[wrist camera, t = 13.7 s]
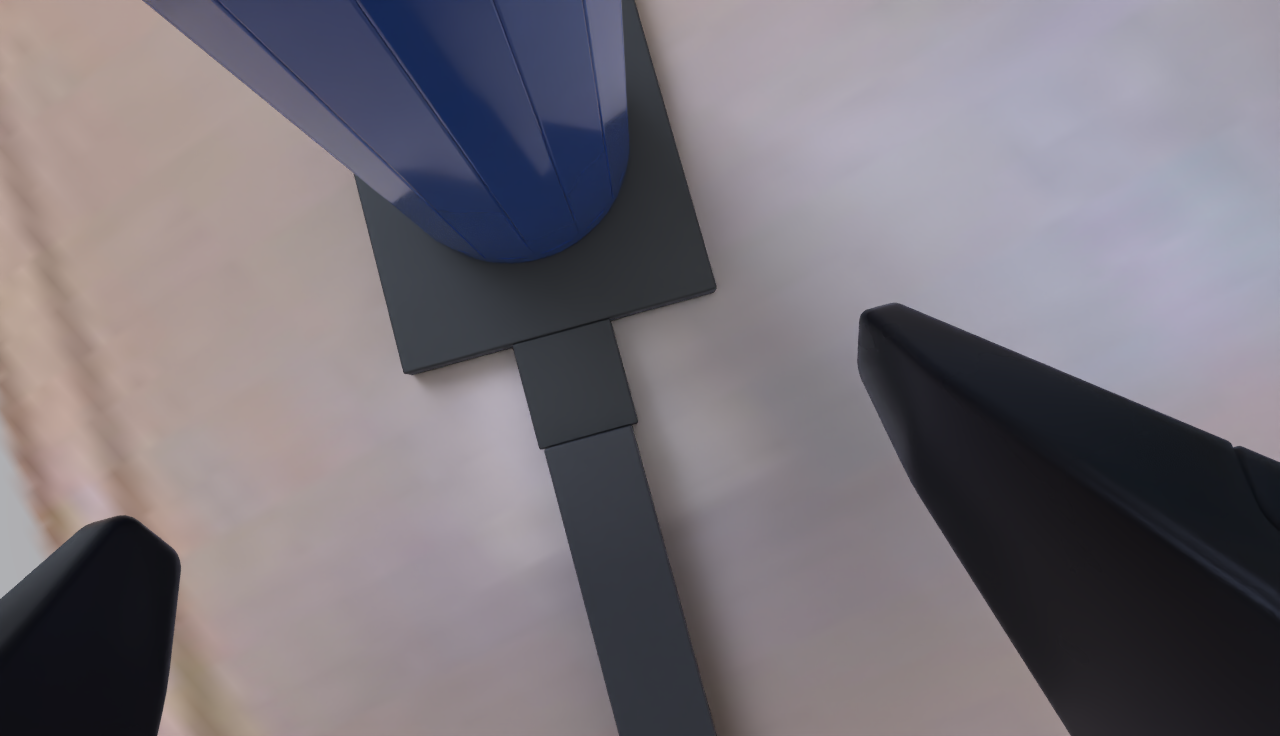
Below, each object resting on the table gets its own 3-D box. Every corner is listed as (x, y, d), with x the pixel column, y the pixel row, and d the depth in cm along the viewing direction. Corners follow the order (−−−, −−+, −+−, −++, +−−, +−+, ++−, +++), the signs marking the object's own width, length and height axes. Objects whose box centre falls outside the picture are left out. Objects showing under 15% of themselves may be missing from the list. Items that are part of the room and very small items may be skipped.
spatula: (866, 820, 17) (881, 848, 16) (545, 912, 17) (538, 946, 16) (614, -60, 19) (612, -89, 18) (321, 18, 19) (301, -6, 18)
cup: (581, 296, 18) (430, 19, 5) (357, 217, 18) (-319, -235, 5) (662, 75, 18) (702, -682, 6) (441, 1, 18) (-3, -895, 6)
